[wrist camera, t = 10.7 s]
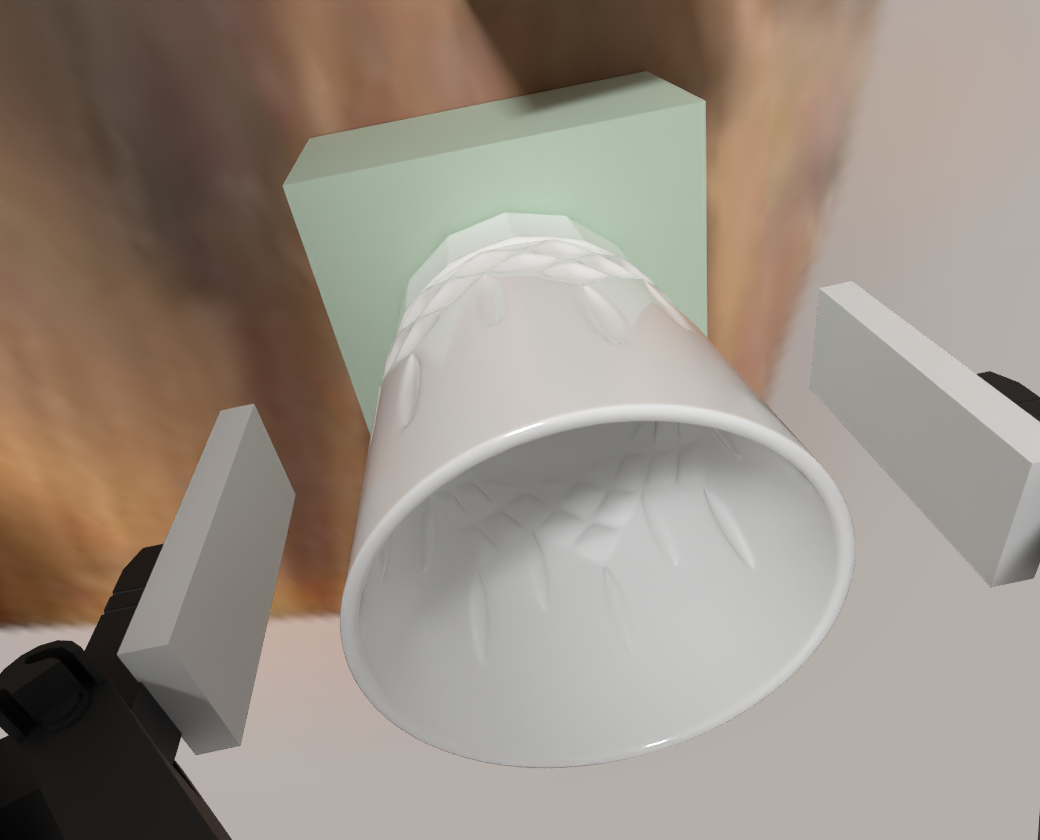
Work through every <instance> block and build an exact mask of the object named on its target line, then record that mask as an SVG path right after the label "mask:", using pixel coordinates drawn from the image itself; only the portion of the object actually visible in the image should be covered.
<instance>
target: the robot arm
mask: <svg viewBox="0 0 1040 840" xmlns="http://www.w3.org/2000/svg"><path fill="white" fill-rule="evenodd" d="M810 389H811V390H812V391H813V393H814V394H815V395H816V396H817V397H818V398H819V399H820V400H821V401H822V402H823V404H824V405H825V406H826V407H827V408H828V409H829V410H830V411H831V412H832V413H833V415H834V416H835V417H836V418H837V419H838V420H839V421H840V422H841V423H842V425H843V426H844V427H845V428H846V429H847V430H848V431H849V432H850V433H851V434H852V436H853V437H854V438H855V439H856V440H857V441H858V442H859V443H860V444H861V445H862V446H863V448H864V449H865V450H866V451H867V452H868V453H869V454H870V455H871V456H872V457H873V459H874V460H875V461H876V462H877V463H878V464H879V465H880V466H881V467H882V468H883V469H884V471H885V472H886V473H887V474H888V475H889V476H890V477H891V478H892V479H893V481H894V482H895V483H896V484H897V485H898V486H899V487H900V488H901V489H902V490H903V492H904V493H906V495H907V496H908V497H909V498H910V499H911V500H912V501H913V502H914V504H915V505H916V506H917V507H918V508H919V509H920V510H921V511H922V512H923V513H924V515H925V516H926V517H927V518H928V519H929V520H930V521H931V522H932V523H933V524H934V526H935V527H936V528H937V529H938V530H939V531H940V532H941V533H942V534H943V535H944V536H945V538H946V539H947V540H948V541H949V542H950V543H951V544H952V545H953V546H954V548H955V549H956V550H957V551H958V552H959V553H960V554H961V555H962V556H963V557H964V559H965V560H966V561H967V562H968V563H969V564H970V565H971V566H972V567H973V568H974V570H975V571H976V572H977V573H978V574H979V575H980V576H981V577H982V578H983V579H984V581H985V582H986V583H987V584H988V585H989V586H990V587H995V586H999V585H1004V584H1009V583H1014V582H1018V581H1023V580H1028V579H1032V578H1034V576H1035V574H1036V571H1037V568H1038V566H1039V563H1040V397H1038V396H1037V395H1036V394H1035V393H1033V392H1032V391H1030V390H1029V389H1027V388H1026V387H1025V386H1023V385H1021V384H1020V383H1019V382H1016V381H1013V380H1011V379H1008V378H1006V377H1003V376H1001V375H998V374H996V373H993V372H990V371H989V372H985V373H979V374H975V373H974V372H972V371H971V370H970V369H968V368H967V367H966V366H964V365H963V364H962V363H960V362H959V361H958V360H956V359H955V358H953V357H952V356H951V355H950V354H948V353H947V352H946V351H944V350H943V349H942V348H940V347H939V346H938V345H936V344H935V343H934V342H932V341H931V340H930V339H928V338H927V337H925V336H924V335H923V334H921V333H920V332H919V331H917V330H916V329H915V328H913V327H912V326H911V325H909V324H908V323H907V322H905V321H904V320H903V319H901V318H900V317H899V316H897V315H896V314H895V313H893V312H892V311H891V310H889V309H888V308H887V307H885V306H884V305H883V304H881V303H880V302H879V301H877V300H876V299H875V298H873V297H872V296H871V295H869V294H868V293H867V292H865V291H864V290H863V289H861V288H860V287H859V286H857V285H856V284H854V283H853V282H847V283H842V284H837V285H832V286H828V287H822V288H820V289H819V298H818V308H817V319H816V329H815V340H814V352H813V361H812V372H811V383H810ZM295 496H296V494H295V492H294V490H293V488H292V486H291V484H290V481H289V479H288V477H287V475H286V473H285V470H284V468H283V466H282V464H281V462H280V459H279V457H278V455H277V453H276V451H275V449H274V446H273V444H272V442H271V440H270V438H269V435H268V433H267V431H266V429H265V427H264V424H263V422H262V420H261V418H260V416H259V414H258V411H257V409H256V407H255V405H254V404H250V405H245V406H240V407H235V408H230V409H226V410H221V411H220V413H219V415H218V418H217V420H216V423H215V425H214V427H213V430H212V432H211V434H210V437H209V439H208V441H207V444H206V446H205V448H204V451H203V453H202V455H201V458H200V460H199V463H198V465H197V467H196V470H195V472H194V474H193V477H192V479H191V481H190V484H189V486H188V488H187V491H186V493H185V495H184V498H183V500H182V502H181V505H180V507H179V510H178V512H177V514H176V517H175V519H174V521H173V524H172V526H171V528H170V531H169V533H168V535H167V538H166V540H165V542H164V544H161V545H156V546H151V547H146V548H143V549H142V550H141V551H140V552H139V553H138V554H137V555H136V556H135V557H134V558H133V560H132V561H131V562H130V563H129V564H128V565H127V566H126V567H125V568H124V569H123V571H122V573H121V575H120V577H119V579H118V582H117V584H116V586H115V588H114V590H113V596H111V597H110V598H109V601H108V603H107V605H106V607H105V609H104V615H101V617H100V620H99V622H98V624H97V626H96V628H95V630H94V632H93V634H92V636H91V639H90V641H89V643H88V645H87V647H86V649H85V651H84V650H83V649H82V648H81V647H80V646H79V645H77V644H76V643H74V642H73V641H60V640H57V641H54V642H51V643H47V644H44V645H40V646H38V647H36V648H34V649H32V650H31V651H29V652H27V653H25V654H23V655H21V656H20V657H19V658H18V659H16V660H15V661H14V662H13V663H11V664H10V665H9V666H8V667H6V668H5V669H4V670H3V671H2V672H1V674H0V727H1V728H2V729H3V730H4V731H5V732H6V733H7V734H8V735H9V736H6V737H4V738H2V739H0V840H232V839H231V838H230V836H229V835H228V833H227V832H226V831H225V829H224V828H223V826H222V825H221V823H220V822H219V821H218V819H217V818H216V816H215V815H214V814H213V812H212V811H211V809H210V808H209V807H208V805H207V804H206V802H205V801H204V800H203V798H202V797H201V795H200V794H199V792H198V791H197V790H196V788H195V787H194V785H193V784H192V782H191V781H190V780H189V779H188V777H187V775H186V774H185V773H184V771H183V770H182V769H181V767H180V766H179V765H178V764H177V762H176V761H175V760H174V759H175V756H176V752H177V749H178V745H179V742H180V739H181V737H182V738H183V739H184V741H185V742H186V743H187V744H188V746H189V747H190V748H191V749H192V751H193V752H194V753H195V754H196V755H199V754H204V753H208V752H213V751H217V750H223V749H227V748H232V747H236V746H240V745H241V741H242V736H243V732H244V727H245V723H246V718H247V714H248V709H249V704H250V700H251V696H252V691H253V687H254V682H255V678H256V673H257V668H258V664H259V659H260V654H261V650H262V645H263V641H264V637H265V632H266V627H267V623H268V618H269V614H270V609H271V605H272V600H273V596H274V591H275V587H276V582H277V577H278V573H279V568H280V564H281V559H282V555H283V550H284V546H285V541H286V537H287V532H288V527H289V523H290V518H291V514H292V509H293V505H294V500H295ZM1038 840H1040V816H1039V831H1038Z"/></svg>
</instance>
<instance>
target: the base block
mask: <svg viewBox="0 0 1040 840" xmlns="http://www.w3.org/2000/svg"><path fill="white" fill-rule="evenodd" d="M282 186H283V189H284V192H285V195H286V197H287V200H288V203H289V206H290V209H291V212H292V214H293V217H294V220H295V223H296V226H297V229H298V231H299V234H300V237H301V240H302V243H303V246H304V248H305V251H306V254H307V257H308V260H309V263H310V265H311V268H312V271H313V274H314V277H315V280H316V282H317V285H318V288H319V291H320V294H321V297H322V299H323V302H324V305H325V308H326V311H327V314H328V316H329V319H330V322H331V325H332V328H333V331H334V334H335V336H336V339H337V342H338V345H339V348H340V351H341V353H342V356H343V359H344V362H345V365H346V368H347V370H348V373H349V376H350V379H351V382H352V385H353V387H354V390H355V393H356V396H357V399H358V402H359V404H360V407H361V410H362V413H363V416H364V419H365V421H366V424H367V427H368V430H369V433H370V436H371V431H372V425H373V420H374V414H375V409H376V404H377V399H378V394H379V387H380V384H381V381H382V378H383V375H384V369H385V363H386V358H387V354H388V351H389V348H390V346H391V344H392V342H393V341H394V337H395V332H396V328H397V324H398V320H399V316H400V312H401V308H402V304H403V300H404V296H405V292H406V288H407V284H408V281H409V279H410V278H411V277H412V276H413V275H414V273H415V272H416V271H417V270H418V269H419V268H420V267H421V266H422V264H423V263H424V262H425V261H426V260H427V259H428V258H429V257H430V255H431V254H432V253H433V252H434V251H435V250H436V249H437V248H438V246H439V245H440V244H441V243H442V242H443V241H444V240H445V239H446V237H447V236H449V235H451V234H454V233H456V232H458V231H461V230H463V229H466V228H468V227H470V226H473V225H475V224H478V223H480V222H483V221H485V220H487V219H490V218H492V217H495V216H497V215H499V214H502V213H504V212H512V213H530V214H549V215H565V216H568V217H570V218H571V219H573V220H575V221H577V222H578V223H580V224H582V225H583V226H585V227H587V228H589V229H590V230H592V231H594V232H595V233H597V234H599V235H601V236H602V237H604V238H606V239H608V240H609V241H611V242H613V243H614V244H616V245H617V246H618V247H619V248H620V250H621V251H622V252H623V253H624V254H625V256H626V257H627V258H628V259H629V260H630V262H631V263H632V264H633V265H634V266H635V267H636V268H637V269H638V270H639V271H641V272H642V273H643V274H644V275H645V276H647V277H648V278H649V279H650V280H651V281H652V282H653V283H655V284H656V285H657V286H658V287H659V288H660V289H661V290H662V291H663V292H664V293H665V294H666V295H667V296H668V298H669V299H670V300H671V301H672V302H673V303H674V304H675V305H676V306H677V307H678V308H679V309H680V310H681V311H682V312H683V313H684V314H685V315H686V316H687V317H688V318H689V319H690V320H691V321H692V322H693V323H694V324H695V325H696V326H697V327H698V328H699V329H700V330H701V331H702V332H703V334H704V335H705V336H706V337H707V222H706V101H705V100H703V99H701V98H699V97H697V96H695V95H693V94H691V93H689V92H687V91H685V90H683V89H681V88H679V87H677V86H675V85H673V84H671V83H669V82H667V81H665V80H663V79H661V78H659V77H657V76H655V75H653V74H651V73H649V72H647V71H644V72H639V73H634V74H629V75H624V76H619V77H614V78H609V79H604V80H599V81H594V82H589V83H584V84H579V85H574V86H569V87H564V88H559V89H554V90H549V91H544V92H539V93H534V94H529V95H524V96H519V97H514V98H509V99H504V100H499V101H494V102H489V103H484V104H479V105H474V106H469V107H464V108H459V109H454V110H449V111H444V112H439V113H434V114H429V115H424V116H419V117H414V118H409V119H404V120H399V121H394V122H389V123H384V124H379V125H374V126H369V127H364V128H359V129H354V130H349V131H343V132H338V133H333V134H328V135H323V136H318V137H313V138H309V140H308V142H307V143H306V145H305V147H304V149H303V150H302V152H301V154H300V156H299V157H298V159H297V161H296V163H295V164H294V166H293V168H292V170H291V171H290V173H289V175H288V177H287V178H286V180H285V182H284V184H283V185H282Z"/></svg>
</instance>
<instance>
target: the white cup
mask: <svg viewBox="0 0 1040 840" xmlns="http://www.w3.org/2000/svg"><path fill="white" fill-rule="evenodd" d="M854 563H855V535H854V528H853V523H852V519H851V516H850V513H849V510H848V507H847V505H846V502H845V500H844V498H843V496H842V494H841V492H840V490H839V488H838V487H837V485H836V483H835V482H834V480H833V479H832V478H831V476H830V475H829V474H828V472H827V471H826V470H825V469H824V468H823V467H822V465H821V464H820V463H819V462H818V461H817V460H816V459H815V458H814V457H813V456H812V454H811V453H810V452H809V451H808V450H807V449H806V448H805V447H804V446H803V445H802V443H801V442H800V441H799V440H798V439H797V438H796V437H795V436H794V435H793V433H792V432H791V431H790V430H789V429H788V428H787V427H786V426H785V425H784V423H783V422H782V421H781V420H780V419H779V418H778V417H777V416H776V415H775V413H774V412H773V411H772V410H771V409H770V408H769V407H768V406H767V405H766V403H765V402H764V401H763V400H762V399H761V398H760V397H759V396H758V394H757V393H756V392H755V391H754V390H753V389H752V388H751V387H750V385H749V384H748V383H747V382H746V381H745V380H744V379H743V377H742V376H741V375H740V374H739V373H738V372H737V371H736V370H735V368H734V367H733V366H732V365H731V364H730V363H729V362H728V360H727V359H726V358H725V357H724V356H723V355H722V354H721V353H720V351H719V350H718V349H717V348H716V347H715V346H714V345H713V344H712V342H711V341H710V340H709V339H708V338H707V337H706V336H705V335H704V334H703V332H702V331H701V330H700V329H699V328H698V327H697V326H696V325H695V324H694V323H693V322H692V321H691V320H690V319H689V318H688V317H687V316H686V315H685V314H684V313H683V312H682V311H681V310H680V309H679V308H678V307H677V306H676V305H675V304H674V303H673V302H672V301H671V300H670V299H669V298H668V296H667V295H666V294H665V293H664V292H663V291H662V290H661V289H660V288H659V287H658V286H657V285H656V284H655V283H653V282H652V281H651V280H650V279H649V278H648V277H647V276H645V275H644V274H643V273H642V272H641V271H639V270H638V269H637V268H636V267H635V266H634V265H633V264H632V263H631V262H630V260H629V259H628V258H627V257H626V256H625V254H624V253H623V252H622V251H621V250H620V248H619V247H618V246H617V245H616V244H614V243H613V242H611V241H609V240H608V239H606V238H604V237H602V236H601V235H599V234H597V233H595V232H594V231H592V230H590V229H589V228H587V227H585V226H583V225H582V224H580V223H578V222H577V221H575V220H573V219H571V218H570V217H568V216H565V215H549V214H530V213H512V212H504V213H502V214H499V215H497V216H495V217H492V218H490V219H487V220H485V221H483V222H480V223H478V224H475V225H473V226H470V227H468V228H466V229H463V230H461V231H458V232H456V233H454V234H451V235H449V236H447V237H446V239H445V240H444V241H443V242H442V243H441V244H440V245H439V246H438V248H437V249H436V250H435V251H434V252H433V253H432V254H431V255H430V257H429V258H428V259H427V260H426V261H425V262H424V263H423V264H422V266H421V267H420V268H419V269H418V270H417V271H416V272H415V273H414V275H413V276H412V277H411V278H410V279H409V281H408V284H407V288H406V292H405V296H404V300H403V304H402V308H401V312H400V316H399V320H398V324H397V328H396V332H395V337H394V341H393V342H392V344H391V346H390V348H389V351H388V354H387V358H386V363H385V369H384V375H383V378H382V381H381V384H380V387H379V394H378V399H377V404H376V409H375V414H374V420H373V425H372V431H371V437H370V443H369V449H368V455H367V460H366V466H365V472H364V478H363V484H362V490H361V495H360V501H359V507H358V513H357V519H356V524H355V530H354V536H353V541H352V547H351V552H350V558H349V564H348V569H347V575H346V580H345V586H344V591H343V597H342V603H341V612H340V631H341V640H342V645H343V650H344V654H345V657H346V660H347V663H348V666H349V669H350V671H351V673H352V675H353V677H354V679H355V681H356V683H357V684H358V686H359V687H360V689H361V690H362V692H363V693H364V695H365V696H366V697H367V698H368V700H369V701H370V702H371V703H372V704H373V705H374V706H375V708H376V709H377V710H378V711H380V712H381V713H382V714H383V715H384V716H385V717H386V718H387V719H388V720H390V721H391V722H392V723H393V724H395V725H396V726H397V727H399V728H400V729H402V730H404V731H405V732H406V733H408V734H410V735H411V736H413V737H415V738H417V739H419V740H421V741H423V742H425V743H427V744H429V745H431V746H433V747H436V748H438V749H441V750H443V751H446V752H449V753H452V754H455V755H459V756H462V757H465V758H469V759H473V760H477V761H481V762H487V763H492V764H498V765H505V766H515V767H528V768H564V767H578V766H588V765H596V764H602V763H609V762H614V761H620V760H624V759H629V758H633V757H637V756H641V755H645V754H648V753H652V752H655V751H659V750H661V749H665V748H668V747H671V746H674V745H676V744H679V743H682V742H685V741H687V740H689V739H692V738H694V737H697V736H699V735H701V734H704V733H706V732H708V731H710V730H712V729H714V728H716V727H718V726H720V725H722V724H724V723H726V722H728V721H730V720H731V719H733V718H735V717H737V716H738V715H740V714H742V713H743V712H745V711H746V710H748V709H750V708H751V707H752V706H754V705H756V704H757V703H758V702H760V701H761V700H763V699H764V698H766V697H767V696H768V695H770V694H771V693H772V692H773V691H775V690H776V689H777V688H778V687H780V686H781V685H782V684H783V683H784V682H785V681H787V680H788V679H789V678H790V677H791V676H792V675H793V674H794V673H795V672H796V671H797V670H798V669H799V668H800V667H801V666H802V665H803V664H804V663H805V662H806V661H807V660H808V658H809V657H810V656H811V655H812V654H813V653H814V651H815V650H816V649H817V648H818V647H819V645H820V644H821V643H822V641H823V640H824V638H825V637H826V636H827V634H828V633H829V631H830V630H831V628H832V626H833V624H834V623H835V621H836V619H837V617H838V615H839V614H840V611H841V609H842V607H843V605H844V602H845V600H846V597H847V594H848V591H849V588H850V585H851V581H852V576H853V571H854V565H855V564H854Z"/></svg>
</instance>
